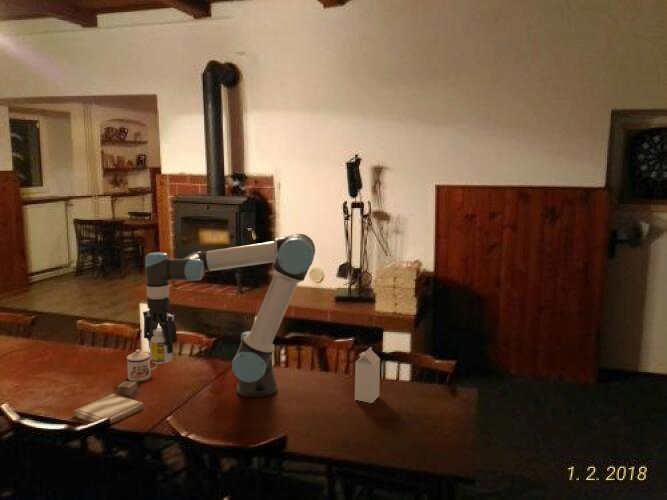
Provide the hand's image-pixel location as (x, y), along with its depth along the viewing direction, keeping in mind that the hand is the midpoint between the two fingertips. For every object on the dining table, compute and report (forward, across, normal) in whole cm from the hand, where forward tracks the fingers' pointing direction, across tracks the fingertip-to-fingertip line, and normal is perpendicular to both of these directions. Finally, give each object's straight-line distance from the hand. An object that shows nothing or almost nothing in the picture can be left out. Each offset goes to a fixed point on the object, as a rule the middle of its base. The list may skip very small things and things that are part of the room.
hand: (161, 359), depth 192 cm
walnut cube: (+17, +16, +2) cm, 23 cm away
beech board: (+17, +11, +14) cm, 25 cm away
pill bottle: (+1, 0, 0) cm, 1 cm away
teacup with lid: (+17, +26, -14) cm, 34 cm away
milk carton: (+17, -62, -41) cm, 76 cm away
